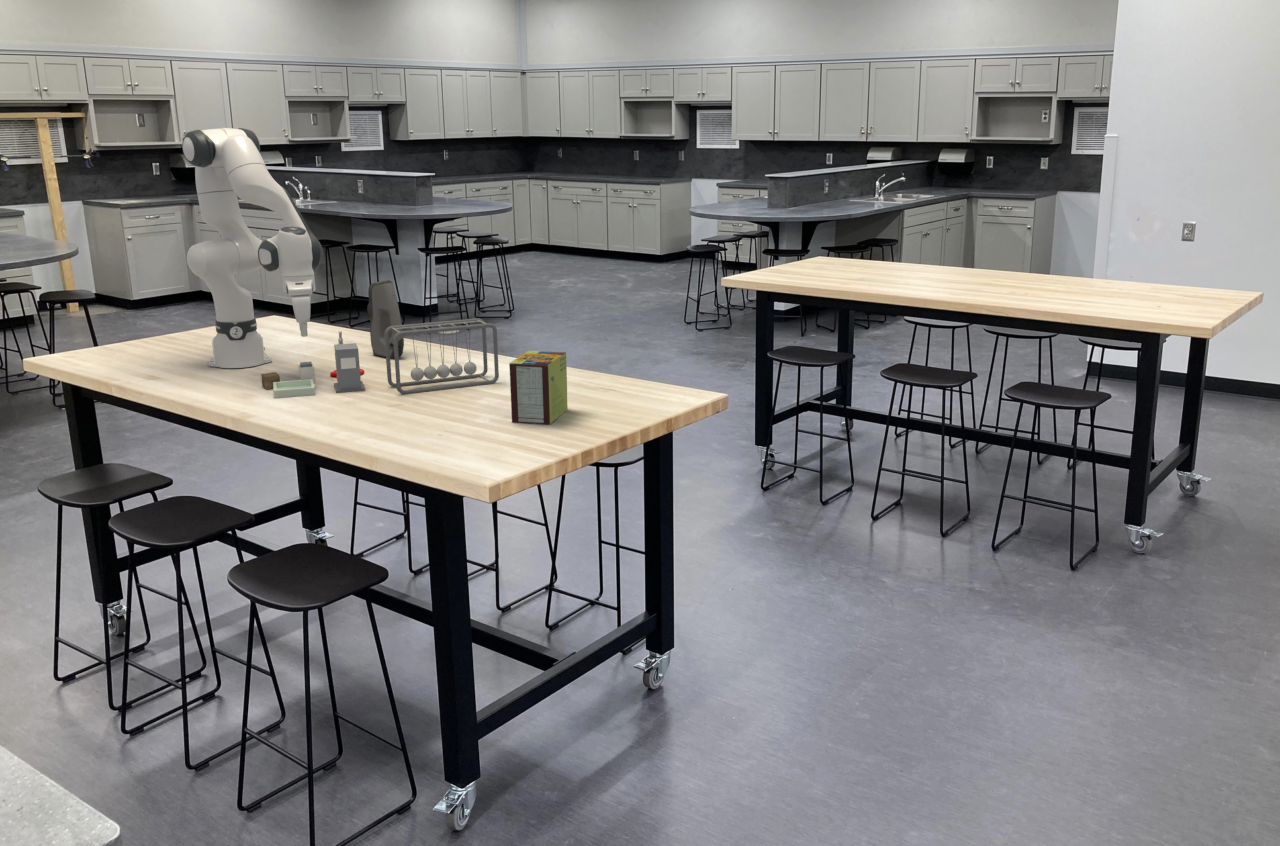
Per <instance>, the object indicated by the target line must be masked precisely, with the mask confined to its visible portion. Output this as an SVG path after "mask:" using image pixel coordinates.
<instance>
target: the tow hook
mask: <svg viewBox="0 0 1280 846" xmlns="http://www.w3.org/2000/svg"><path fill="white" fill-rule="evenodd" d="M342 334H343V332H342V330H339V331H338V342H337V343H338V344H344V339H343V335H342ZM364 374H365V369H362V368H360V376H361V375H364ZM329 376H330V377H331V378H337V372H336V369H335V370H333V371H330V373H329Z"/></svg>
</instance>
